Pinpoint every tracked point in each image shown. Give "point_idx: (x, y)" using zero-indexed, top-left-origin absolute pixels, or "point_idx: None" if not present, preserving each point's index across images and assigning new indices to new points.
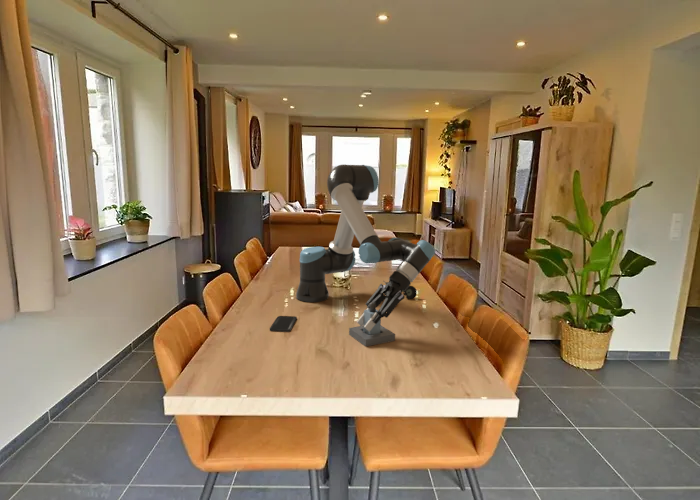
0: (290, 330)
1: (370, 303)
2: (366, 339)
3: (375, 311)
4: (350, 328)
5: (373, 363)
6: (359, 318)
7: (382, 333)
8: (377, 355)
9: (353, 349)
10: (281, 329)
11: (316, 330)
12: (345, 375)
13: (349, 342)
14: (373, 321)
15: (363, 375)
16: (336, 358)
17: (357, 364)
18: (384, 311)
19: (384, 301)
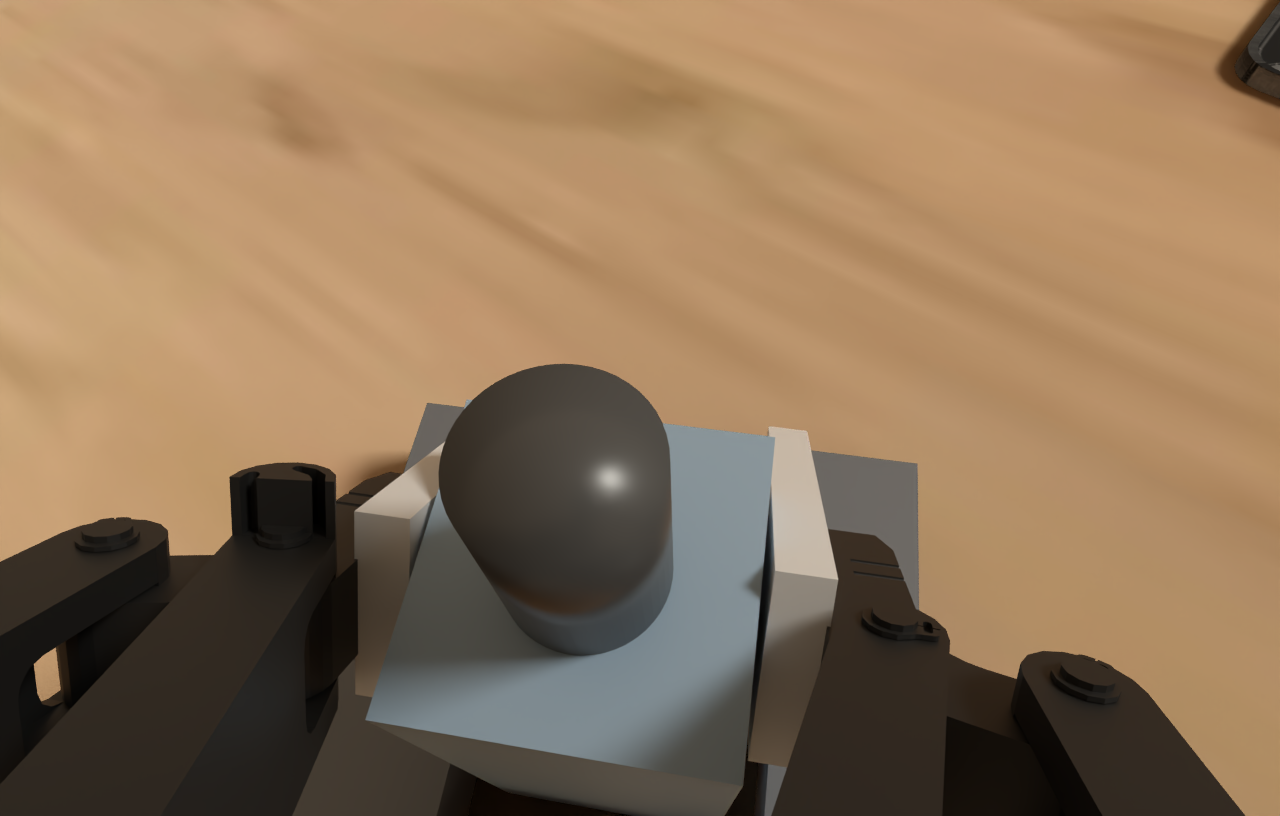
0: (1264, 90)
1: (565, 369)
2: (424, 413)
3: (507, 610)
4: (889, 468)
5: (123, 286)
6: (796, 451)
7: (417, 766)
8: (194, 415)
9: (486, 311)
10: (1275, 16)
11: (1189, 273)
12: (187, 52)
13: (665, 375)
14: (394, 473)
15: (74, 129)
16: (443, 121)
17: (230, 183)
18: (35, 548)
19: (117, 813)
